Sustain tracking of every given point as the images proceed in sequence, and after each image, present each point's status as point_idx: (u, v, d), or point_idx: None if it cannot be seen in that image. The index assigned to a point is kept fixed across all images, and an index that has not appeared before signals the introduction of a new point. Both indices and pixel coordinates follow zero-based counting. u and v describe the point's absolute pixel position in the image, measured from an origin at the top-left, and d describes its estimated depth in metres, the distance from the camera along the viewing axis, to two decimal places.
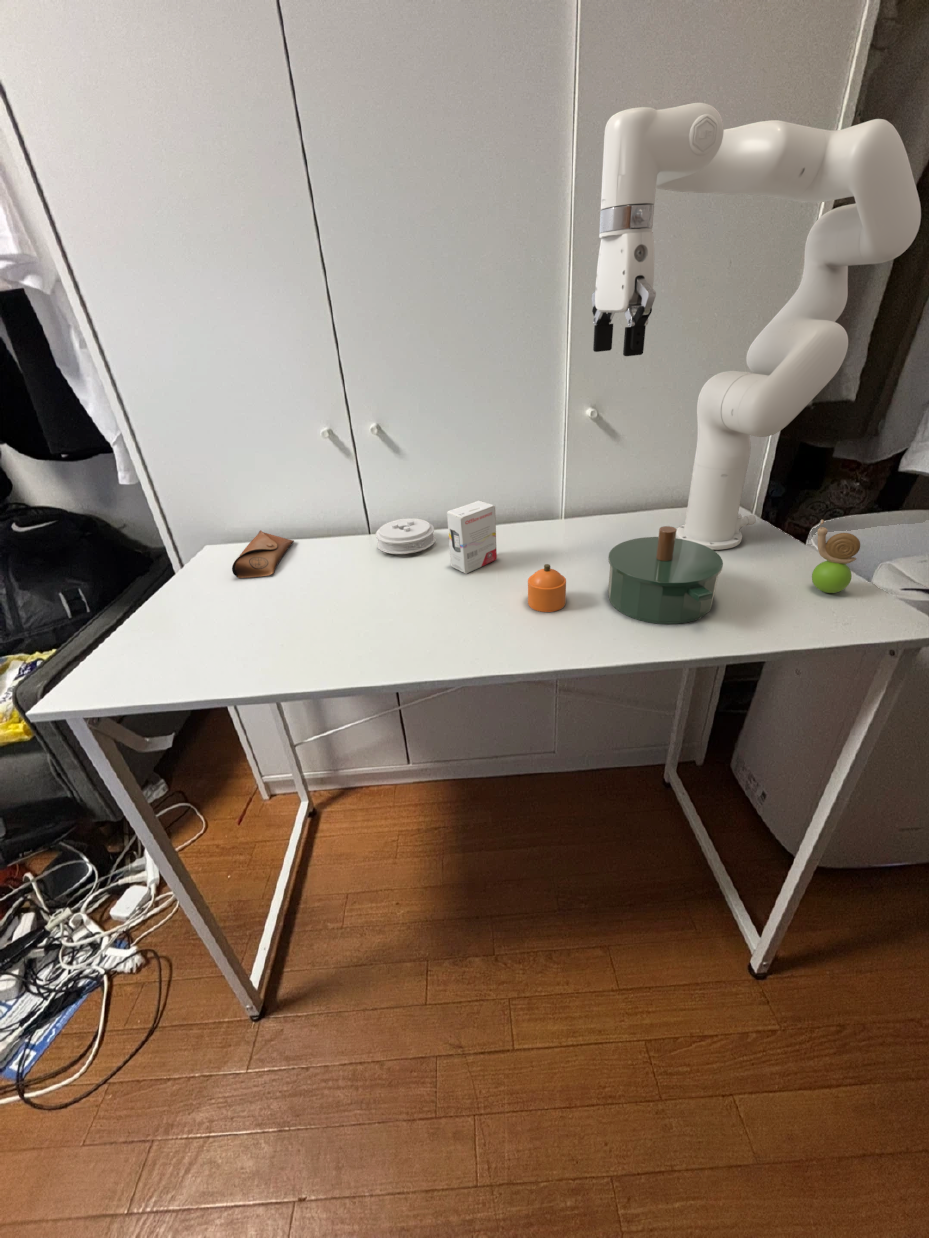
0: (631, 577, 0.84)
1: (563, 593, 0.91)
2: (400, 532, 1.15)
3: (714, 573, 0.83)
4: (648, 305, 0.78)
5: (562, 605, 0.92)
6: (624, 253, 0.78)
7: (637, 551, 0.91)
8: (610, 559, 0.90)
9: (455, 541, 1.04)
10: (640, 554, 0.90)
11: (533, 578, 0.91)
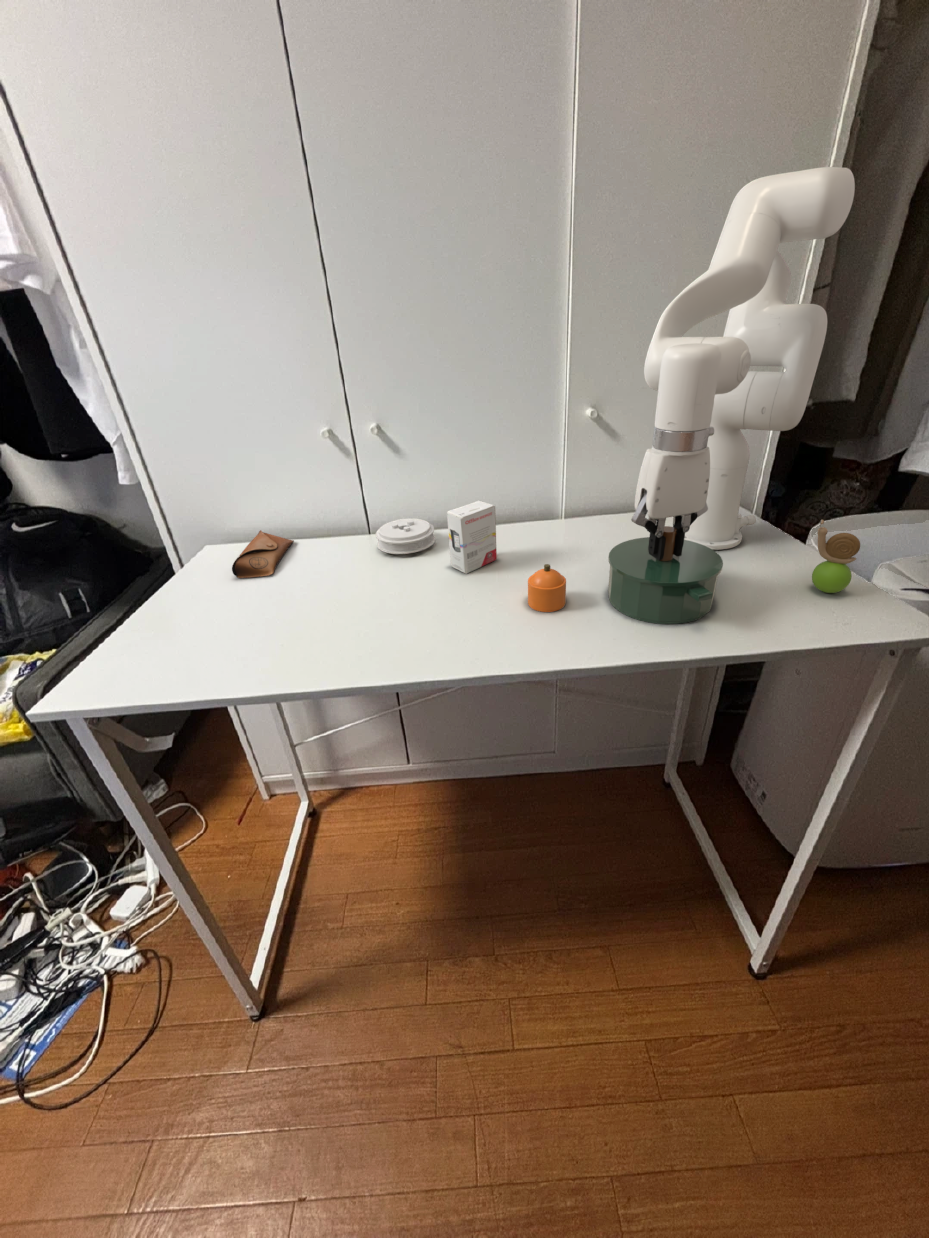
0: (631, 577, 0.84)
1: (563, 593, 0.91)
2: (400, 532, 1.15)
3: (714, 573, 0.83)
4: None
5: (562, 605, 0.92)
6: (708, 464, 0.80)
7: (637, 551, 0.91)
8: (610, 559, 0.90)
9: (455, 541, 1.04)
10: (640, 554, 0.90)
11: (533, 578, 0.91)
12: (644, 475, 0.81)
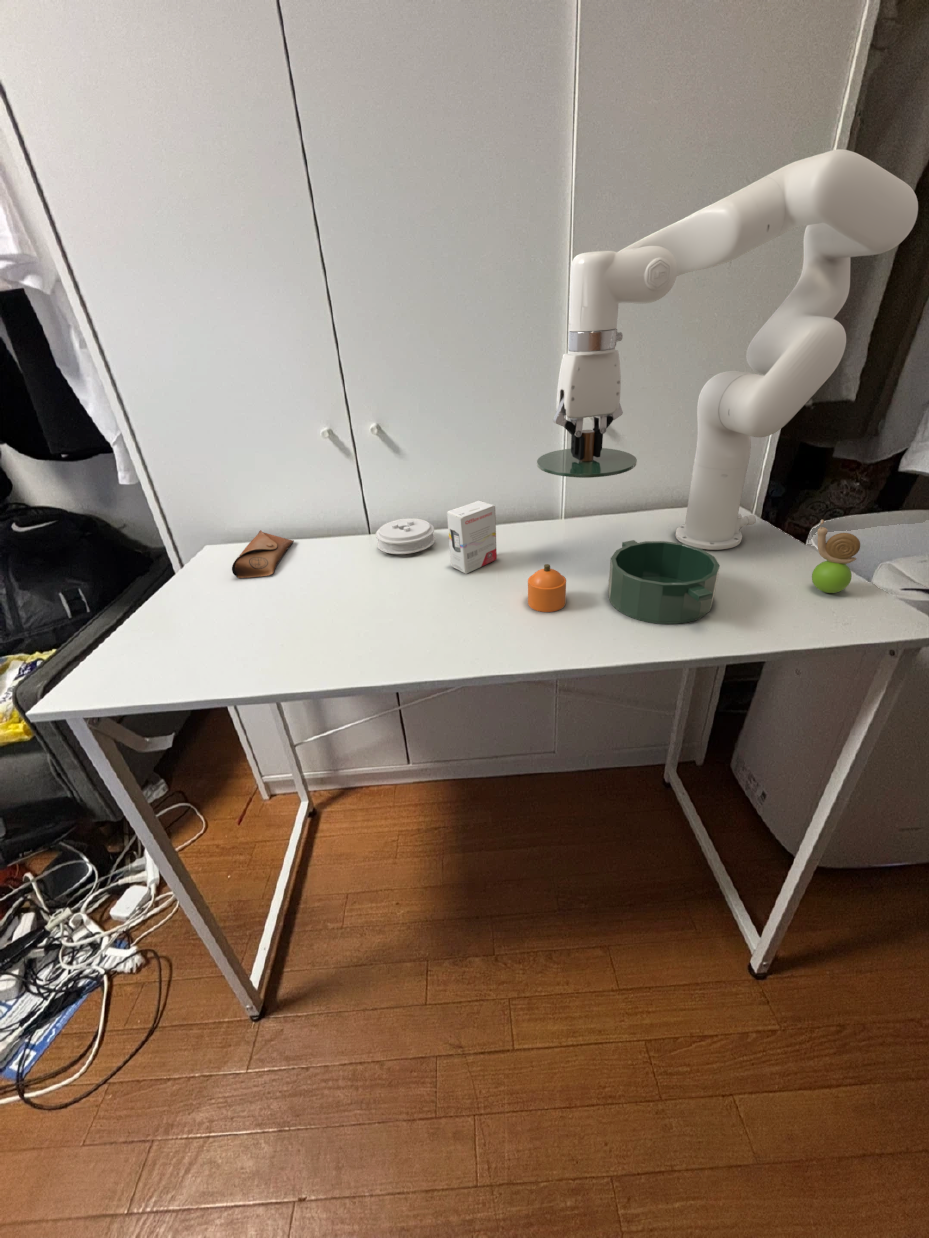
0: (553, 472, 0.94)
1: (563, 593, 0.91)
2: (400, 532, 1.15)
3: (626, 467, 0.92)
4: None
5: (562, 605, 0.92)
6: (618, 367, 0.89)
7: (563, 456, 1.01)
8: (538, 462, 0.99)
9: (455, 541, 1.04)
10: (565, 458, 1.00)
11: (533, 578, 0.91)
12: (561, 377, 0.90)
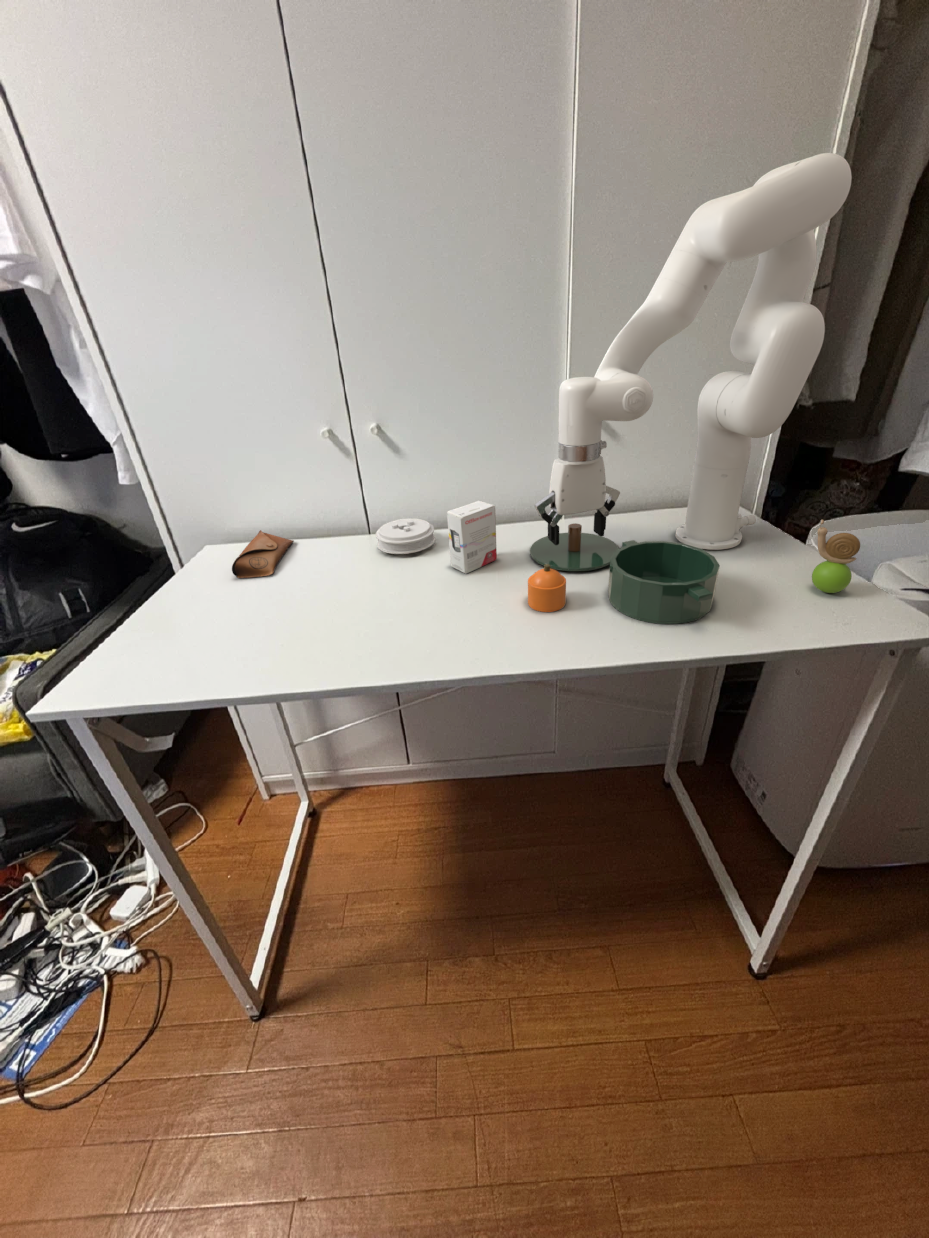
0: (543, 564, 1.05)
1: (563, 593, 0.91)
2: (400, 532, 1.15)
3: (609, 561, 1.03)
4: None
5: (562, 605, 0.92)
6: (603, 471, 1.00)
7: None
8: (531, 550, 1.10)
9: (455, 541, 1.04)
10: (556, 546, 1.11)
11: (533, 578, 0.91)
12: (552, 480, 1.01)
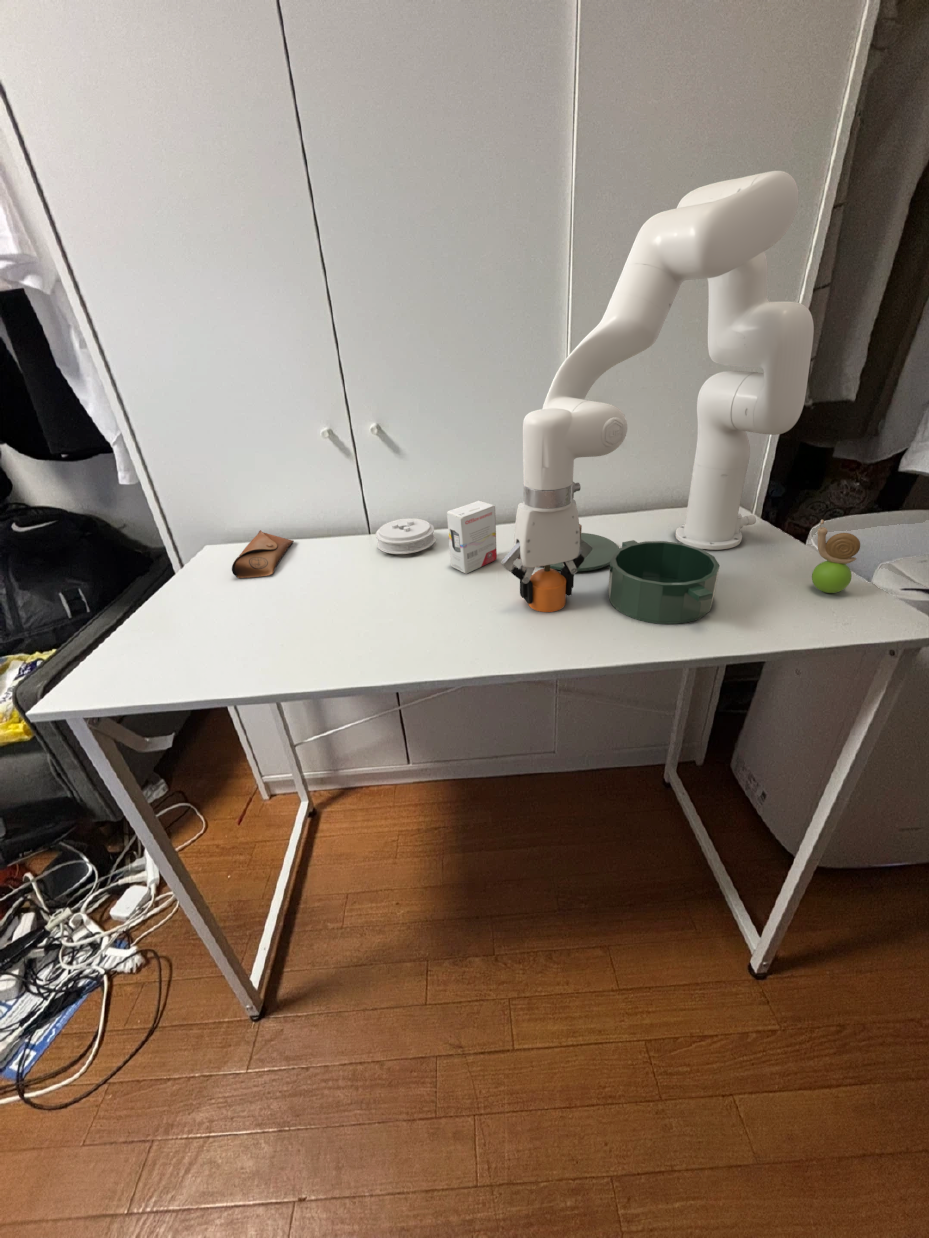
0: None
1: (563, 593, 0.91)
2: (400, 532, 1.15)
3: (609, 561, 1.03)
4: None
5: (562, 605, 0.92)
6: (576, 518, 0.85)
7: None
8: None
9: (455, 541, 1.04)
10: None
11: (533, 578, 0.91)
12: (517, 527, 0.86)
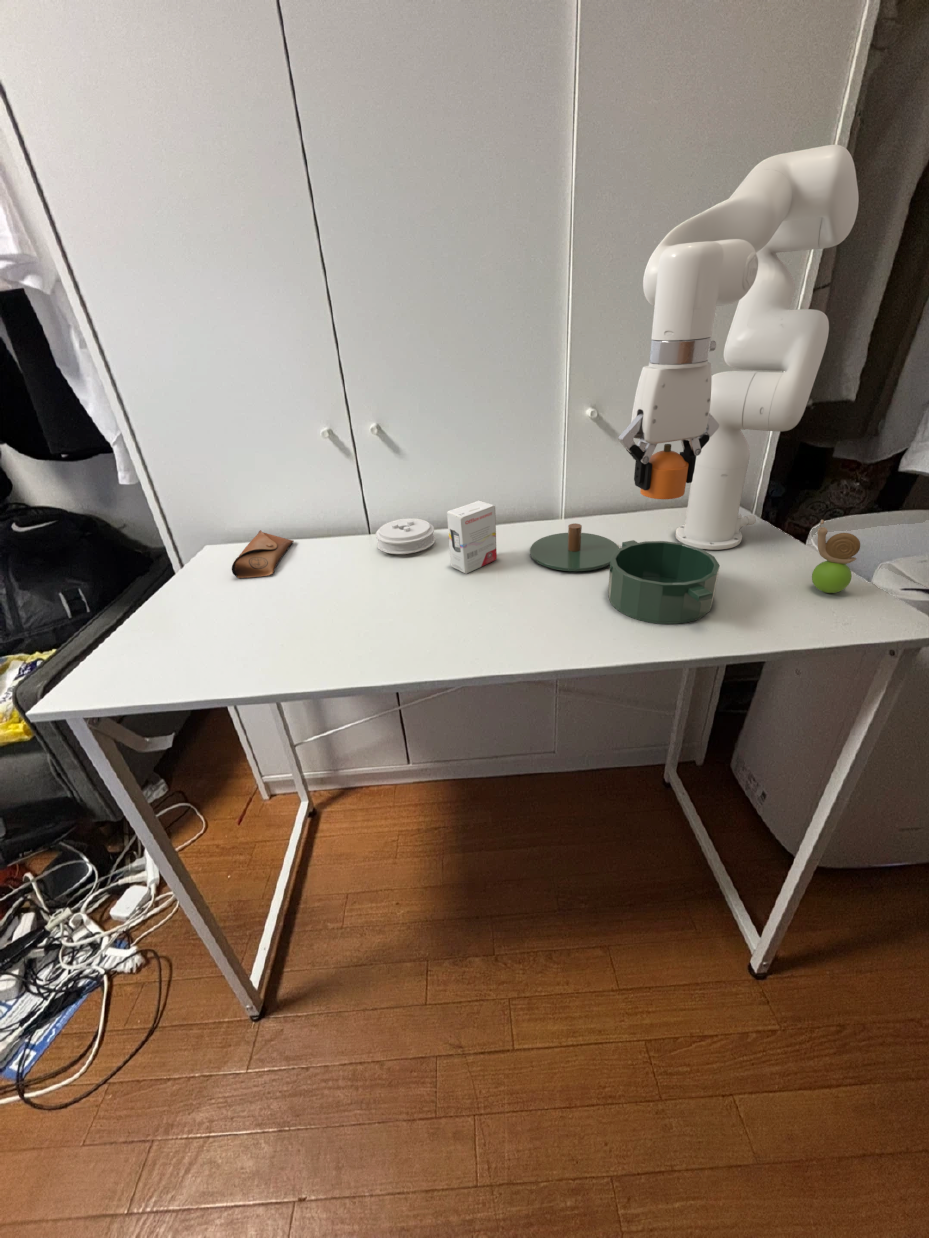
0: (543, 564, 1.05)
1: (685, 477, 0.80)
2: (400, 532, 1.15)
3: (609, 561, 1.03)
4: None
5: (683, 492, 0.81)
6: (709, 382, 0.74)
7: (554, 544, 1.12)
8: (531, 550, 1.10)
9: (455, 541, 1.04)
10: (556, 546, 1.11)
11: (650, 461, 0.80)
12: (640, 394, 0.75)
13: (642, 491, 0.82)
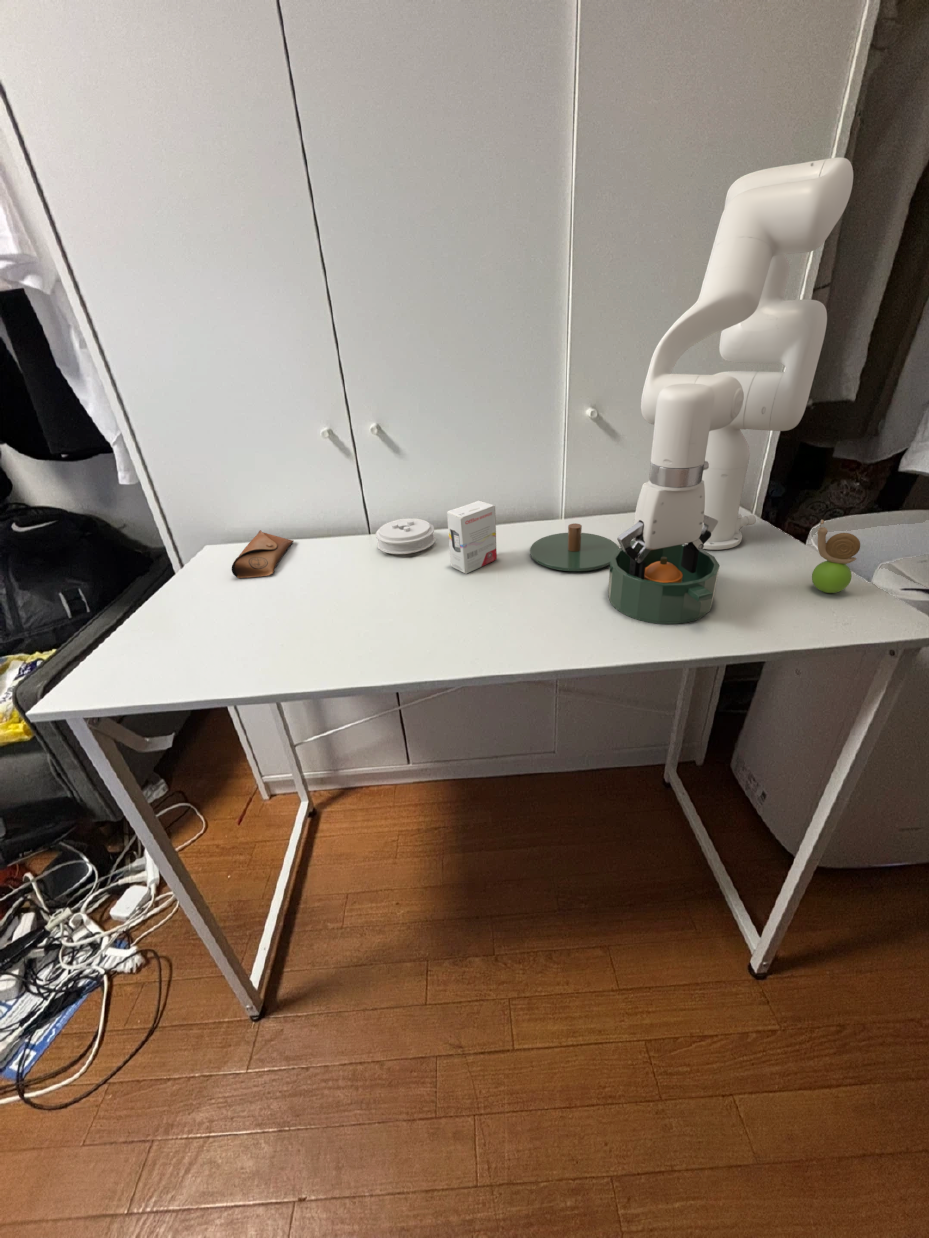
0: (543, 564, 1.05)
1: None
2: (400, 532, 1.15)
3: (609, 561, 1.03)
4: None
5: None
6: (703, 497, 0.83)
7: (554, 544, 1.12)
8: (531, 550, 1.10)
9: (455, 541, 1.04)
10: (556, 546, 1.11)
11: (648, 571, 0.89)
12: (641, 507, 0.84)
13: None
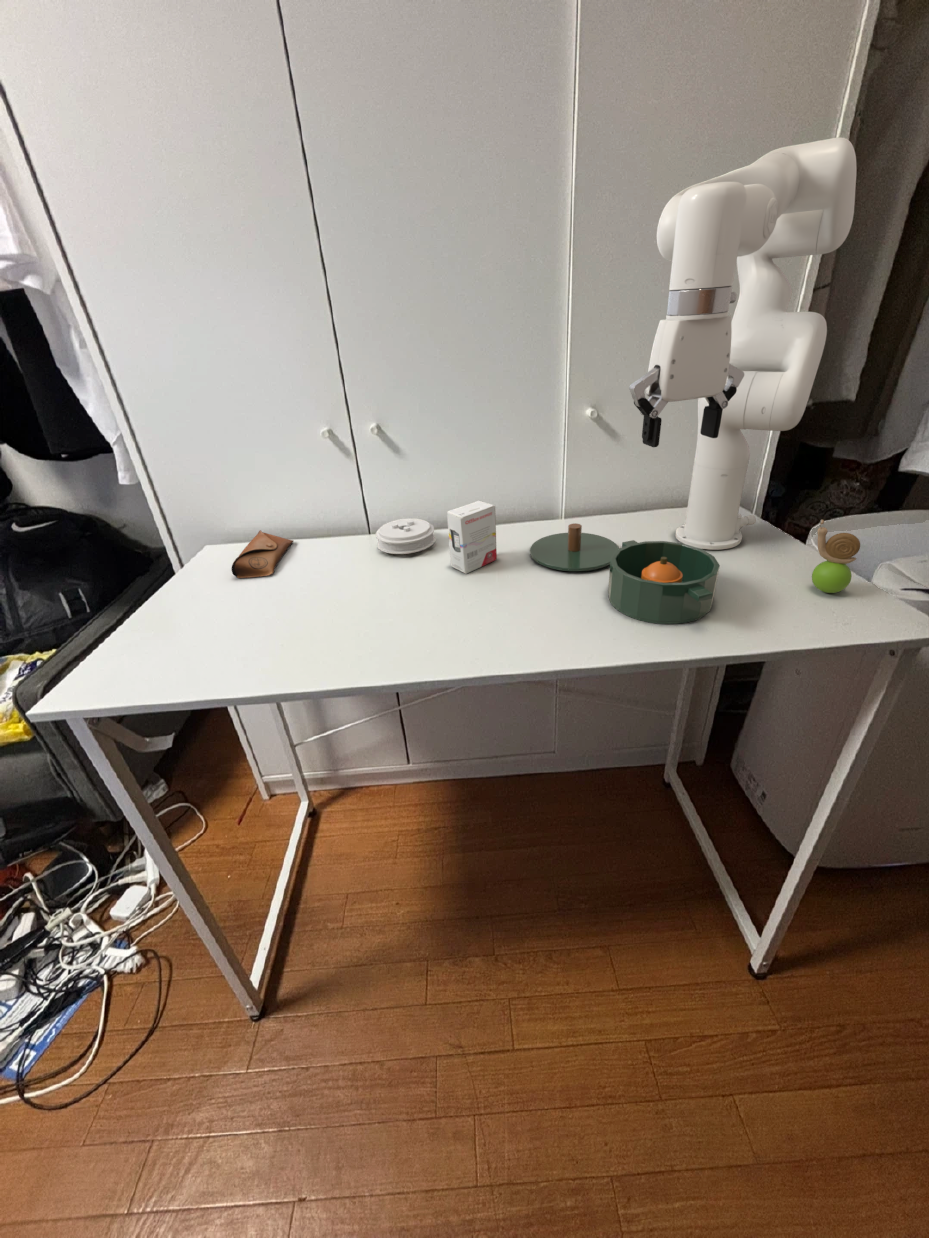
0: (543, 564, 1.05)
1: None
2: (400, 532, 1.15)
3: (609, 561, 1.03)
4: None
5: None
6: (729, 335, 0.71)
7: (554, 544, 1.12)
8: (531, 550, 1.10)
9: (455, 541, 1.04)
10: (556, 546, 1.11)
11: (648, 571, 0.89)
12: (657, 349, 0.72)
13: None
